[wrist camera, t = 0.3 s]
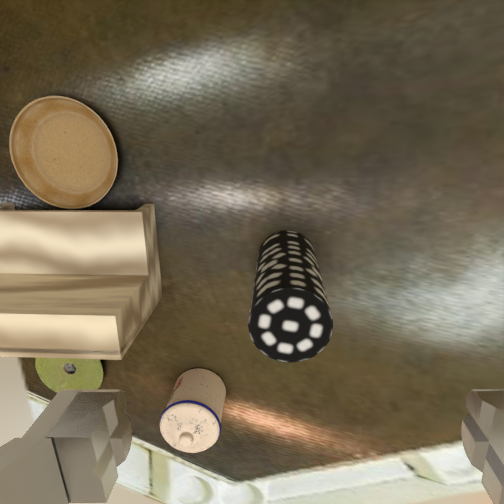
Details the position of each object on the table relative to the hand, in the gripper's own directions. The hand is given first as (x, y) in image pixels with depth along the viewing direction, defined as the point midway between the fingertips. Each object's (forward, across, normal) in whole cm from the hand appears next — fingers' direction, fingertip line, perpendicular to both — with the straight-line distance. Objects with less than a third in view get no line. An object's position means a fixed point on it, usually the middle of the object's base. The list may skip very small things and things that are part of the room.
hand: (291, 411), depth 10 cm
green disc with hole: (+47, +35, +31) cm, 66 cm away
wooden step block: (+47, +30, +11) cm, 56 cm away
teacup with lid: (+47, +15, +38) cm, 62 cm away
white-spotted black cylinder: (+47, 0, +13) cm, 49 cm away
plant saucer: (+47, +29, -3) cm, 56 cm away
